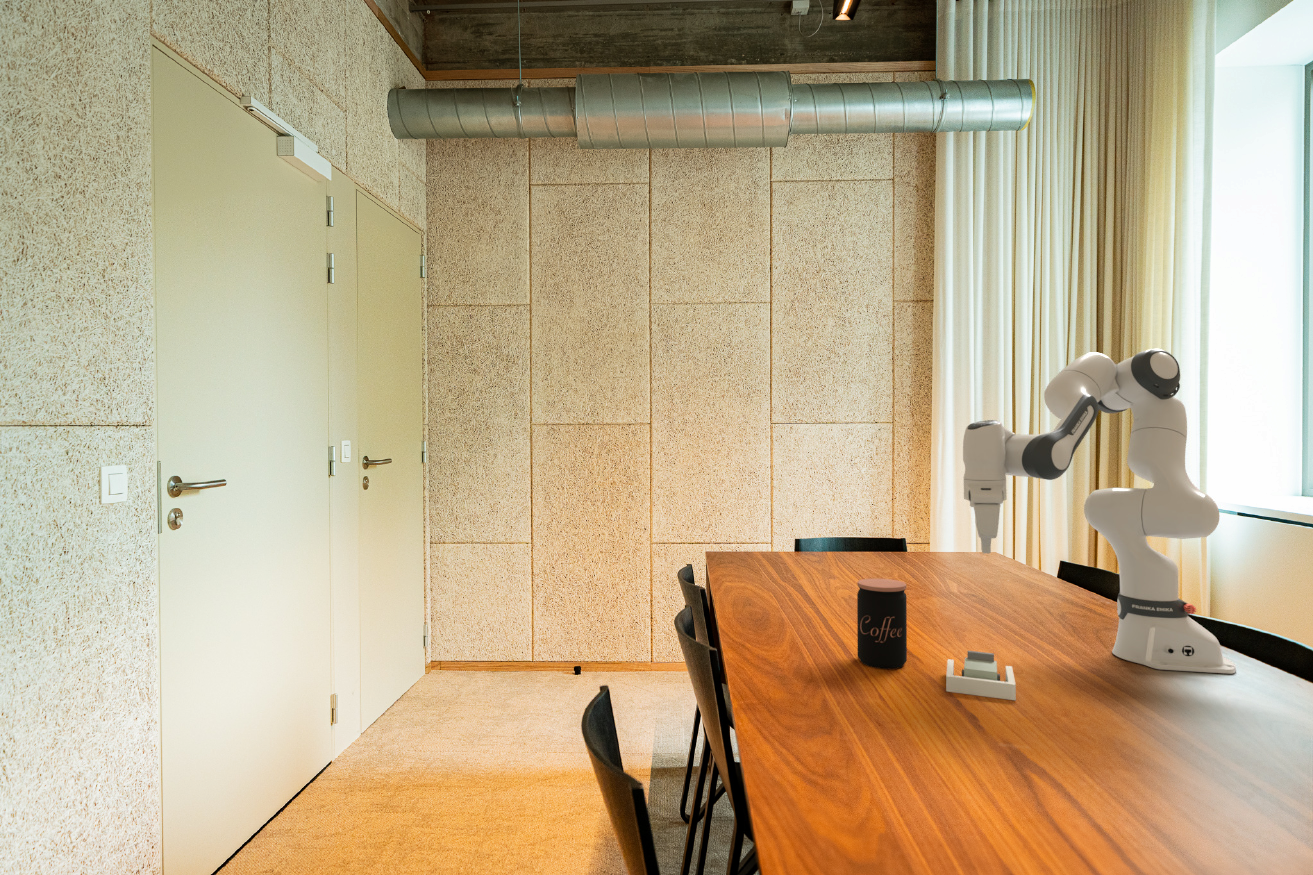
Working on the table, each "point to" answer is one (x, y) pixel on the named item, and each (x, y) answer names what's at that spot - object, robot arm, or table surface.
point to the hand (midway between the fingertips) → (986, 552)
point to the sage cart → (980, 666)
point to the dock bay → (981, 684)
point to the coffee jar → (882, 623)
